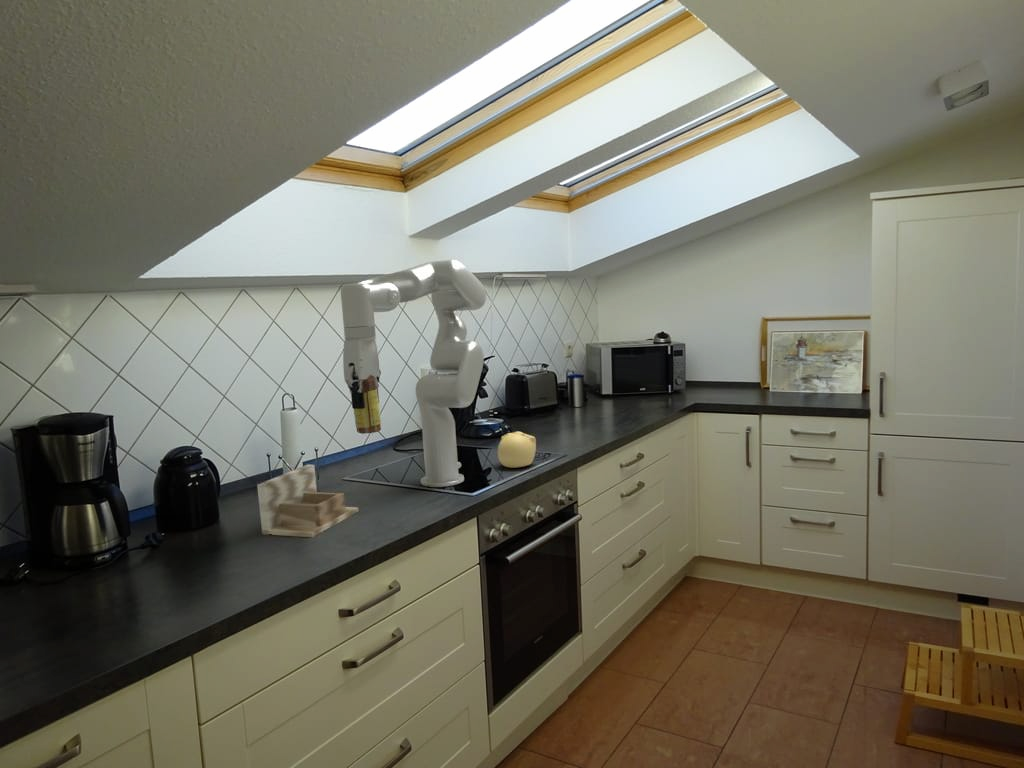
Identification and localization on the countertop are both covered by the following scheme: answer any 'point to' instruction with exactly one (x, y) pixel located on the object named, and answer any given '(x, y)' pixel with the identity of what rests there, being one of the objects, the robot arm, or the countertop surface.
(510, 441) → the pale yellow rounded lump
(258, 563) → the countertop surface
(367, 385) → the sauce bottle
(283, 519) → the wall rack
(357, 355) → the robot arm
